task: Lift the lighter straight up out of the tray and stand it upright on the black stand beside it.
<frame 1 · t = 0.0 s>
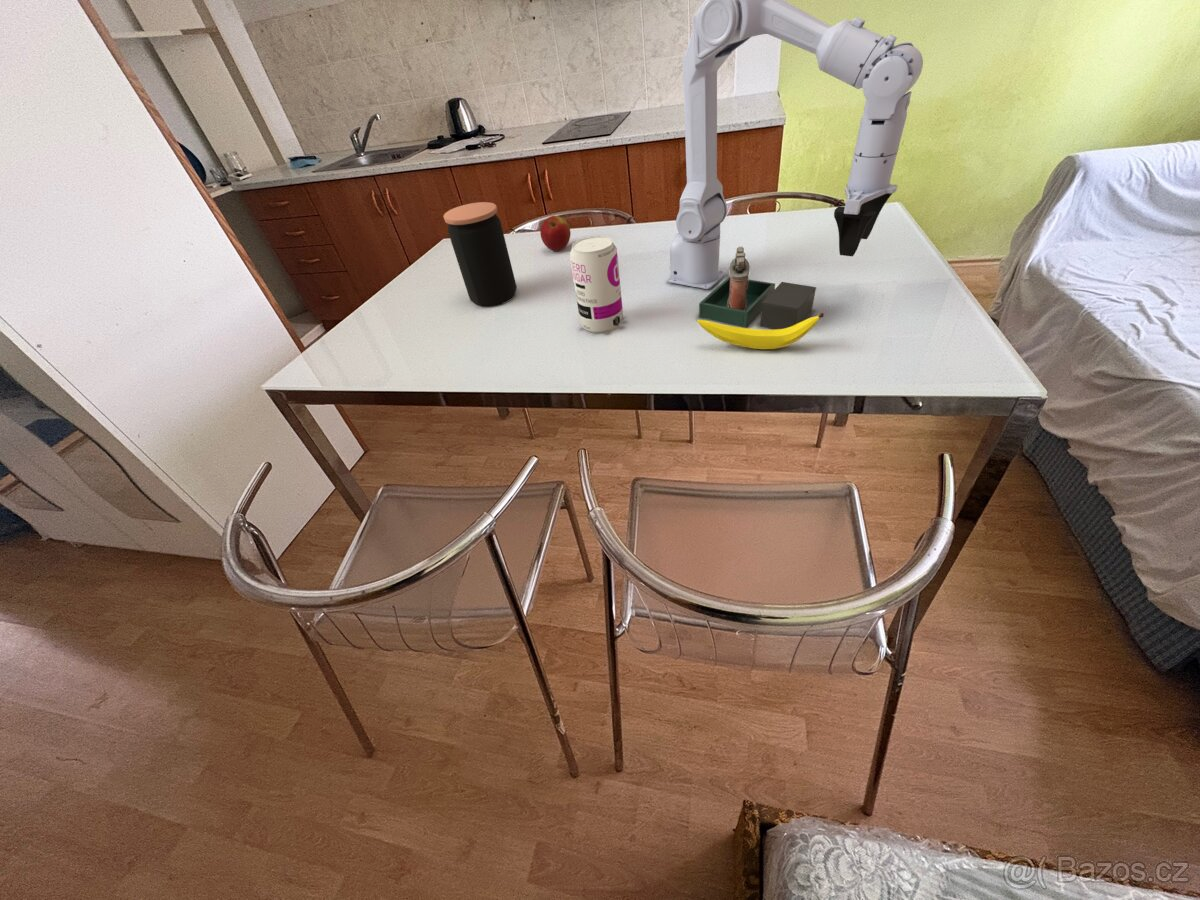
hand: (853, 246, 80), 10 cm above the table, tool pointing down, fingers open, 7 cm apart
coffee jar: (494, 297, 107), on the table
apple: (558, 250, 124), on the table
banana: (754, 349, 80), on the table
stand: (785, 318, 85), on the table
tray: (736, 307, 90), on the table
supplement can: (602, 324, 92), on the table
lighter: (736, 307, 90), resting on tray
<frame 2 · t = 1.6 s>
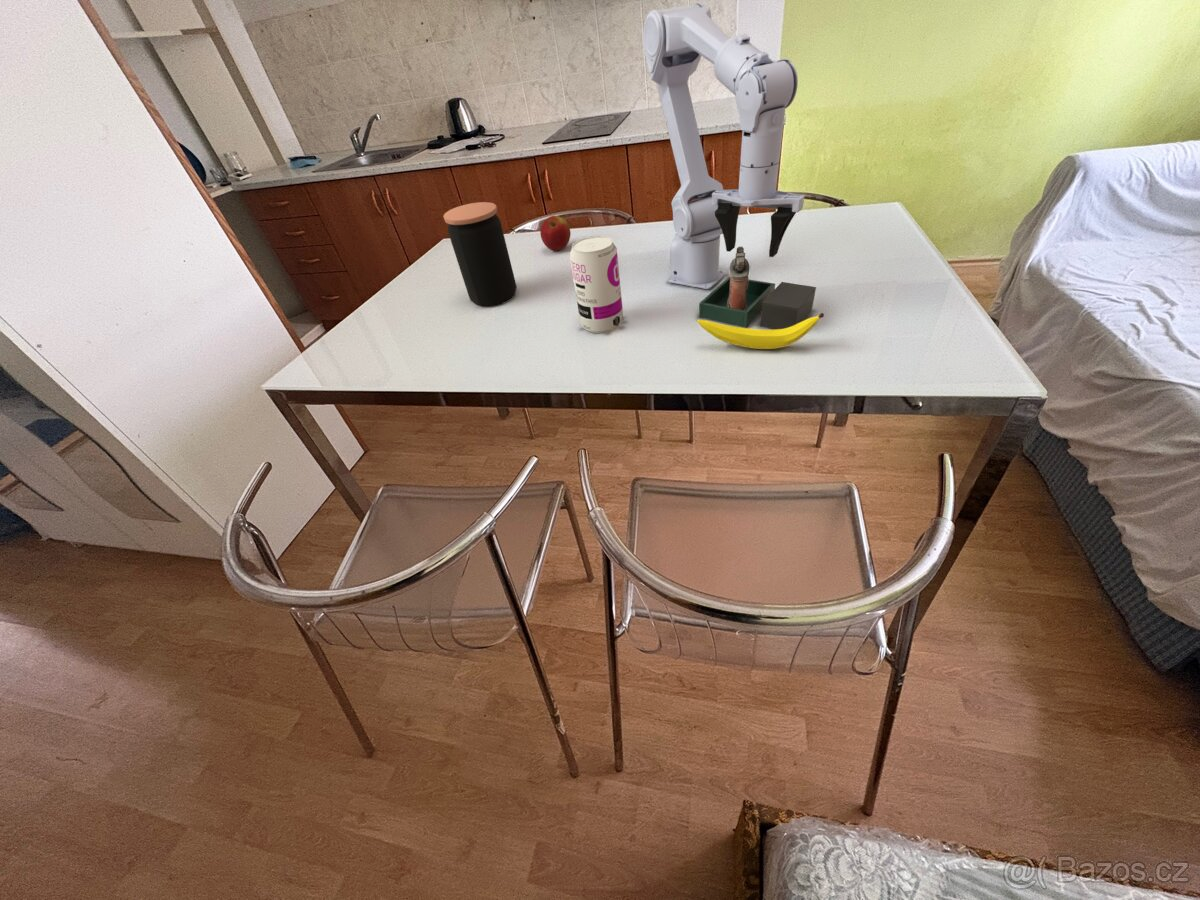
hand: (751, 252, 83), 10 cm above the table, tool pointing down, fingers open, 7 cm apart
nothing on the table moved.
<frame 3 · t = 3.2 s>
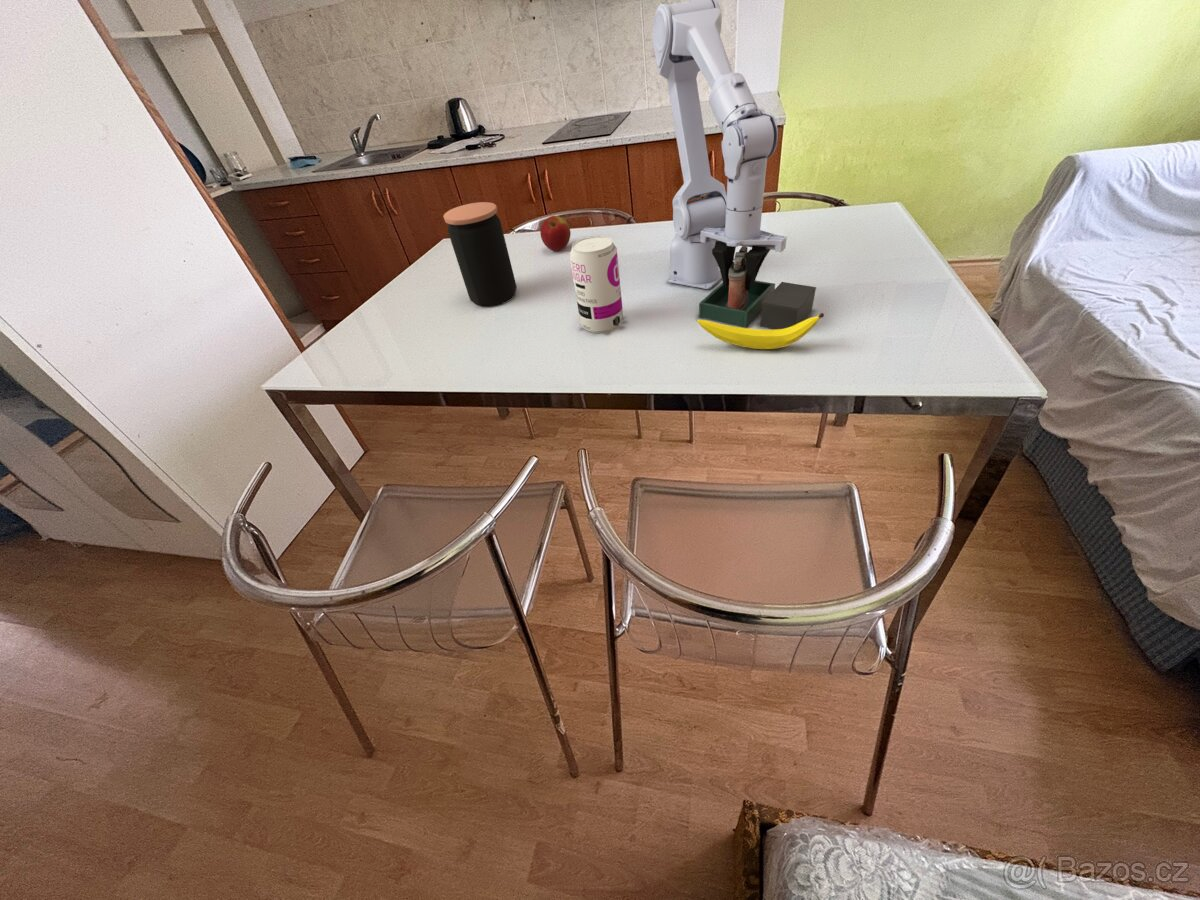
hand: (738, 286, 87), 4 cm above the table, tool pointing down, fingers closed on lighter, 4 cm apart
lighter: (737, 306, 90), resting on tray, touching gripper
everything else where it was.
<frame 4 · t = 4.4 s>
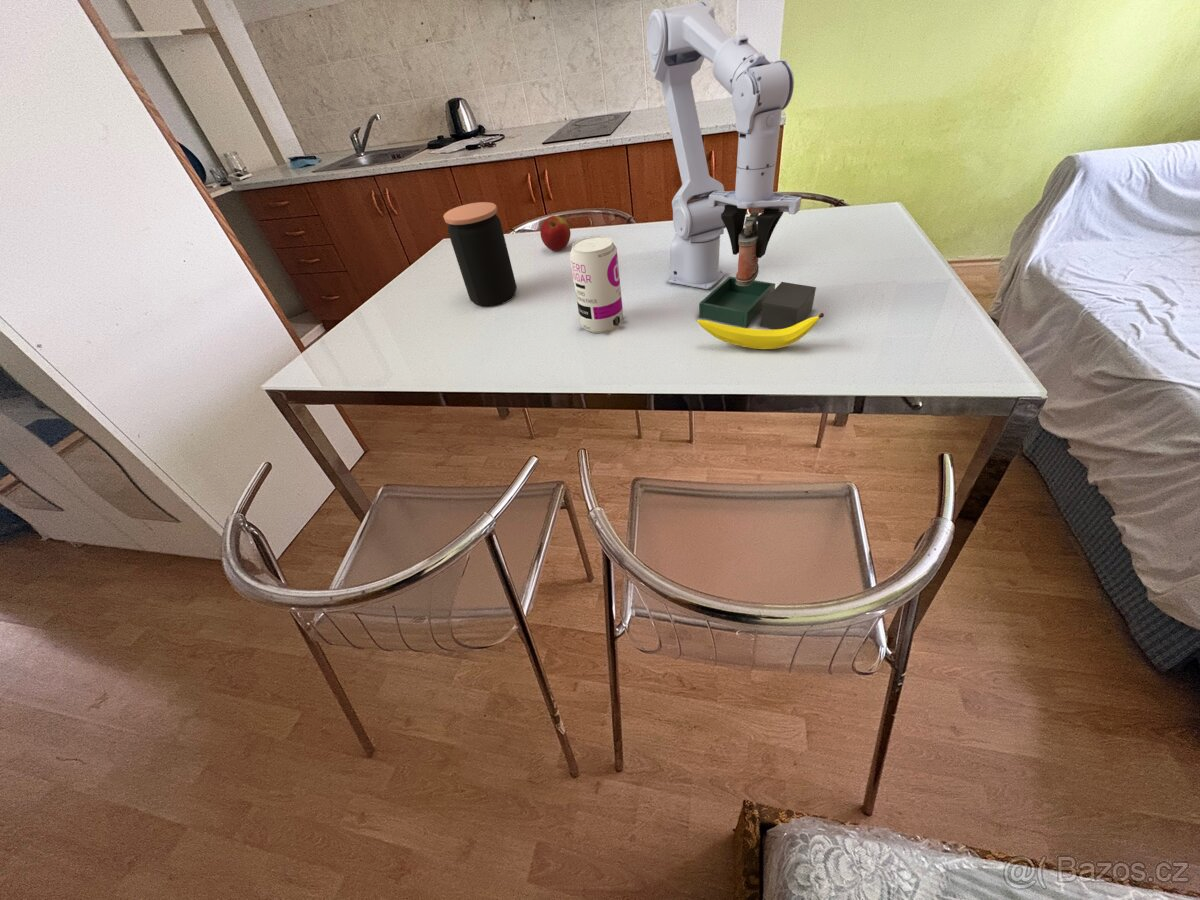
hand: (748, 254, 83), 10 cm above the table, tool pointing down, fingers closed on lighter, 4 cm apart
lighter: (747, 277, 85), point 6 cm above the table, touching gripper
everything else where it was.
when the fingers open (8 cm above the table, at t = 6.2 s): lighter stays where it is, resting on stand.
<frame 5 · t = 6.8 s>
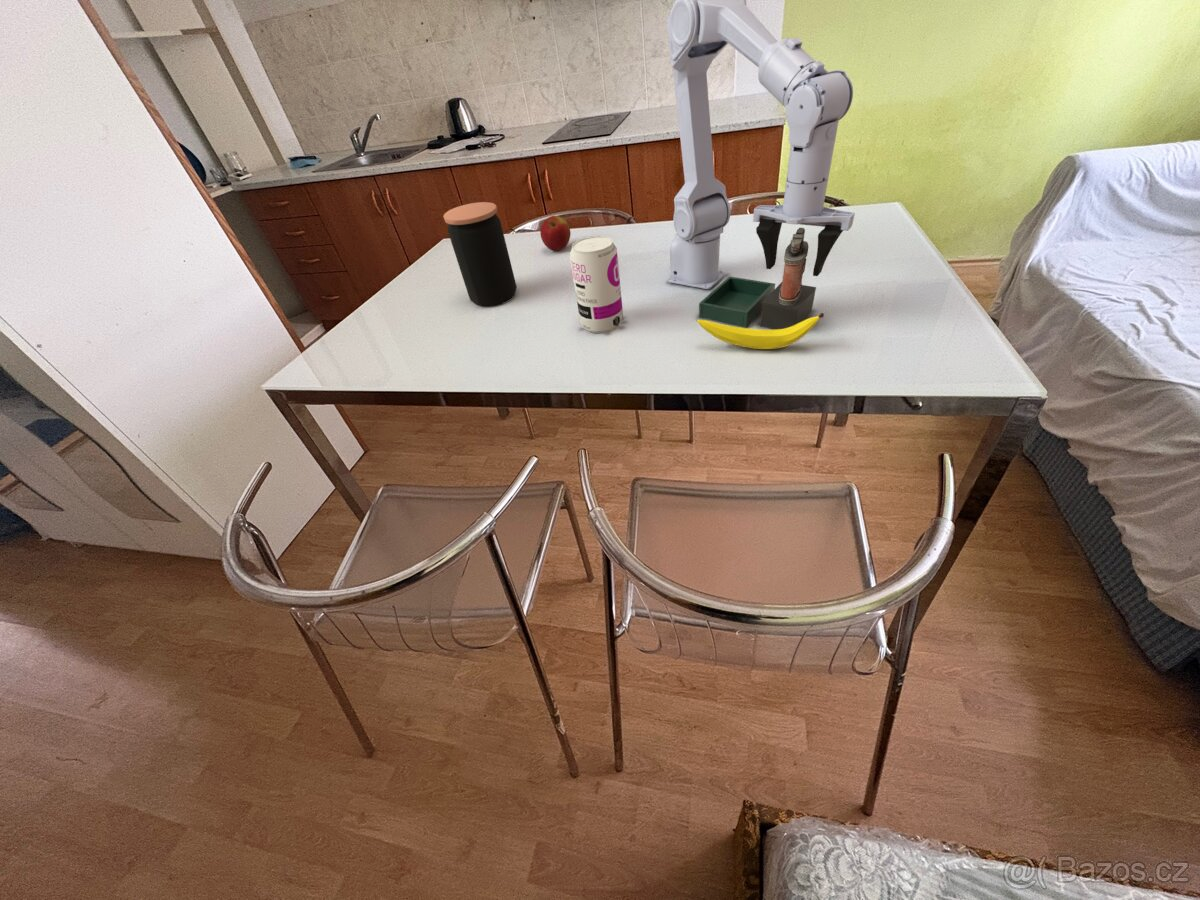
hand: (793, 270, 79), 9 cm above the table, tool pointing down, fingers open, 7 cm apart
lighter: (789, 295, 82), point 4 cm above the table, touching stand
everything else where it was.
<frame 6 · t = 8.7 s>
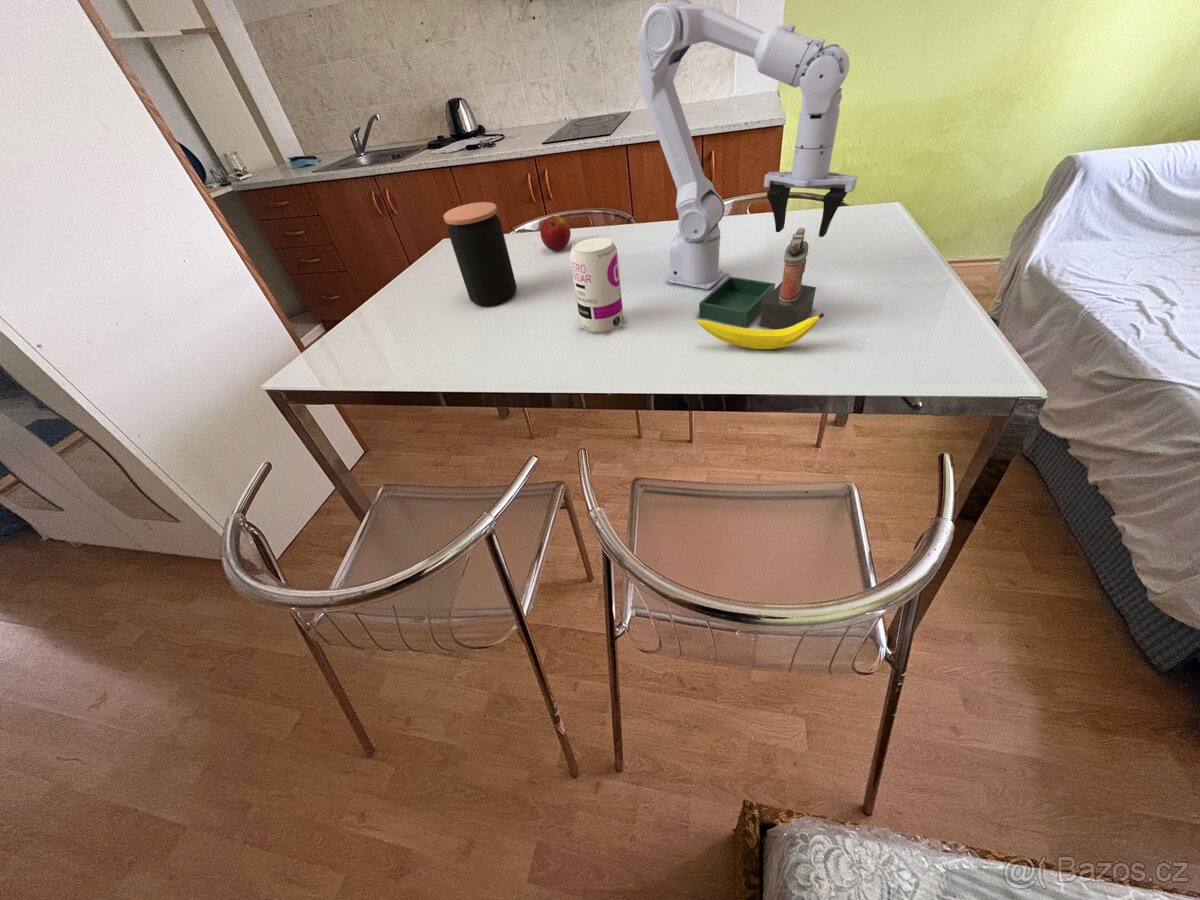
hand: (800, 232, 86), 10 cm above the table, tool pointing down, fingers open, 7 cm apart
nothing on the table moved.
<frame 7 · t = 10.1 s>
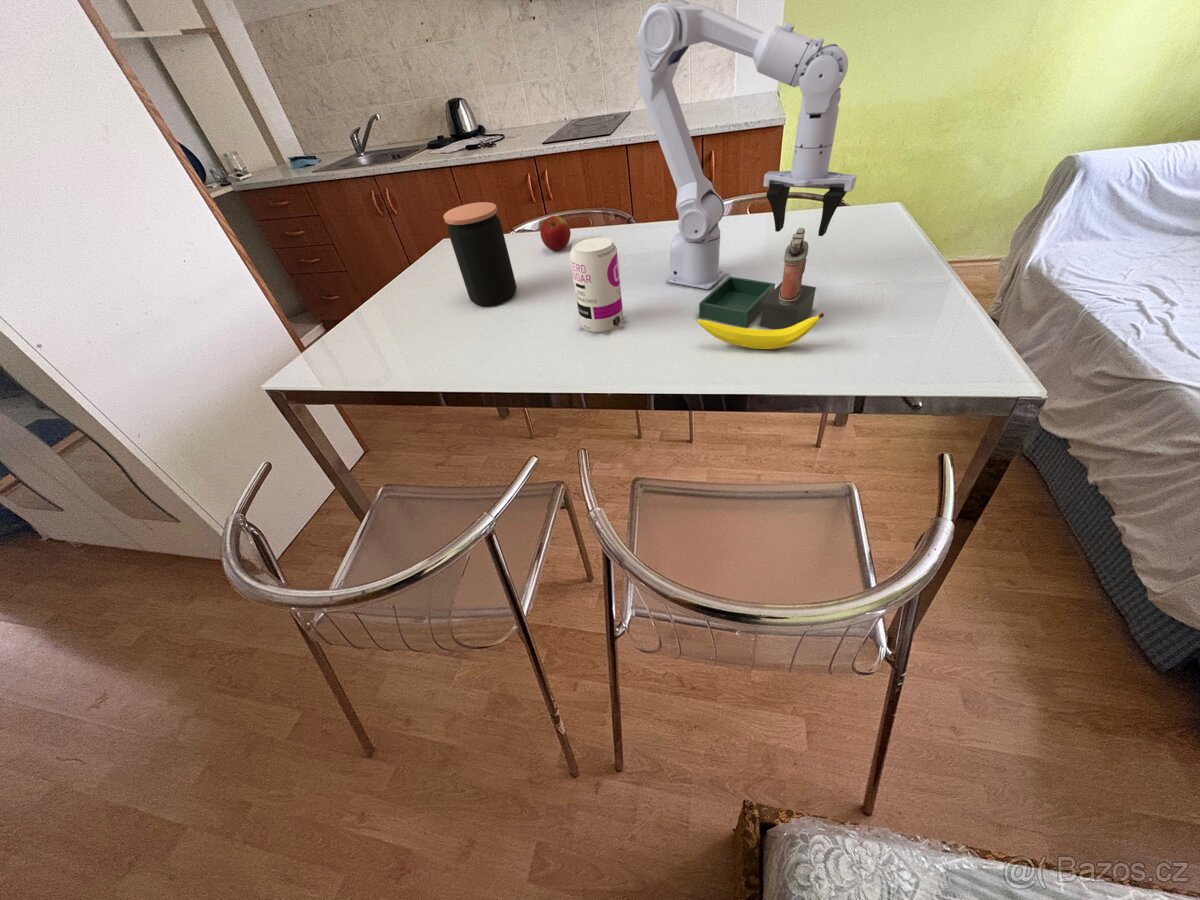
hand: (800, 231, 86), 10 cm above the table, tool pointing down, fingers open, 7 cm apart
nothing on the table moved.
at the end: lighter 0.1 cm off-centre on the stand, point 4.3 cm above the stand's base; lighter tilted 0°; lighter touching stand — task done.
